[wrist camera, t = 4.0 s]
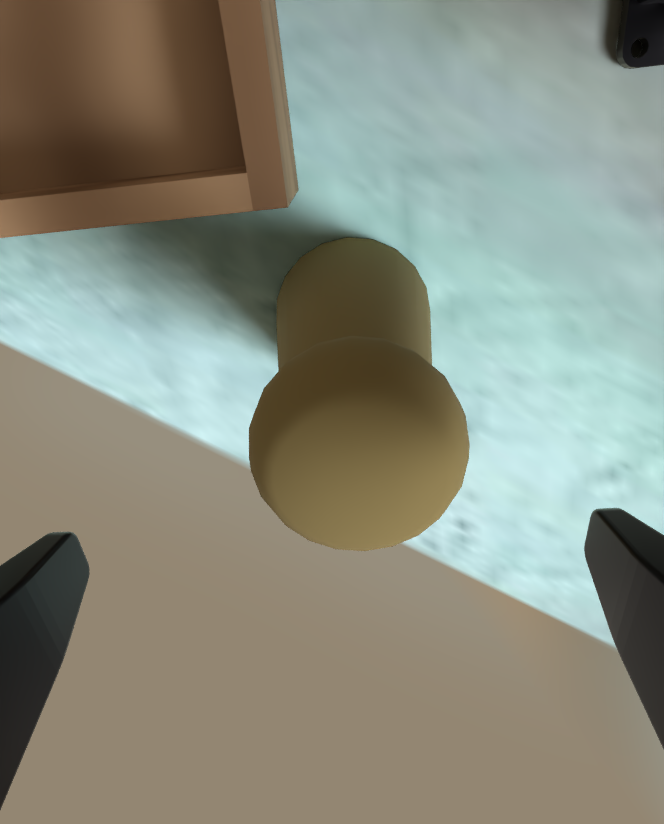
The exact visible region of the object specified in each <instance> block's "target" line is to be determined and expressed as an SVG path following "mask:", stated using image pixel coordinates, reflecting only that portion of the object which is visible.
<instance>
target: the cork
mask: <svg viewBox="0 0 664 824" xmlns="http://www.w3.org/2000/svg"><path fill="white" fill-rule="evenodd" d="M276 325H277V346H278V367H279V372H278V373H277V374H276V375H275V376H274V377H273V379H272V380H271V381H270V382H269V383H268V384H267V385H266V387H265V388H264V390H263V392H262V395H261V397H260V400H259V402H258V405H257V408H256V410H255V413H254V415H253V418H252V421H251V424H250V427H249V460H250V467H251V472H252V474H253V477H254V480H255V482H256V485H257V487H258V490H259V492H260V495H261V497H262V498H263V499H264V501H265V502H266V503H267V504H268V505H269V506H270V508H271V509H272V510H273V511H274V512H275V513H276V515H277V516H278V517H279V518H280V519H281V520H282V522H283V523H284V524H285V525H286V526H287V527H289V528H290V529H292V530H293V531H295V532H297V533H298V534H300V535H301V536H303V537H304V538H306V539H307V540H309V541H312V542H315V543H319V544H321V545H325V546H328V547H331V548H334V549H342V550H357V551H368V550H374V549H380V548H386V547H392V546H395V545H397V544H399V543H402V542H404V541H406V540H409V539H411V538H413V537H416V536H418V535H419V534H421V533H422V532H423V531H424V530H426V529H427V528H428V527H429V526H431V525H432V524H433V523H434V522H436V521H437V520H438V519H439V518H440V517H441V516H442V514H443V513H444V512H445V510H446V509H447V508H448V506H449V505H450V503H451V502H452V500H453V499H454V497H455V496H456V494H457V493H458V491H459V490H460V488H461V487H462V483H463V479H464V475H465V471H466V467H467V463H468V459H469V438H468V430H467V423H466V416H465V413H464V411H463V409H462V406H461V404H460V402H459V400H458V399H457V397H456V395H455V393H454V392H453V390H452V388H451V386H450V385H449V383H448V381H447V379H446V377H445V376H444V375H443V374H441V373H440V372H439V371H438V370H437V369H436V368H434V367H433V366H432V353H431V323H430V307H429V301H428V295H427V288H426V286H425V284H424V282H423V280H422V279H421V277H420V275H419V273H418V271H417V269H416V267H415V266H414V265H413V264H412V263H411V262H410V261H409V260H407V259H406V258H405V257H404V256H403V255H402V254H401V253H400V252H399V251H398V250H396V249H394V248H392V247H389V246H387V245H385V244H383V243H380V242H378V241H376V240H373V239H362V238H349V237H347V238H343V239H339V240H334V241H330V242H326V243H322V244H321V245H319V246H318V247H316V248H314V249H313V250H311V251H310V252H308V253H307V254H305V255H303V256H302V257H300V259H299V260H298V261H297V262H296V264H295V265H294V266H293V267H292V269H291V270H290V271H289V272H288V274H287V275H286V276H285V278H284V281H283V284H282V286H281V289H280V292H279V295H278V297H277V317H276Z"/></svg>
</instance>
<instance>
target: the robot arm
mask: <svg viewBox="0 0 664 824" xmlns="http://www.w3.org/2000/svg"><path fill="white" fill-rule="evenodd" d="M636 39H637V40H640V42H641V43H642V50H641V53H640V54H639V55H638V57H637V58H634V57H633V56H632V54H631V47H632V44H633V43H634V42H635V41H636ZM617 60H618V62H619V64H620V65H621V66H622V67H624V68H629V69H632V68H641V67H649V66H658V65H664V0H623V7H622V14H621V22H620V29H619V37H618V44H617ZM584 551H585V557H586V561H587V564H588V567H589V570H590V573H591V576H592V579H593V582H594V585H595V588H596V591H597V593H598V596H599V599H600V602H601V605H602V608H603V611H604V614H605V617H606V620H607V623H608V626H609V629H610V632H611V634H612V637H613V640H614V643H615V645H616V647H617V650H618V652H619V654H620V657H621V659H622V661H623V663H624V665H625V667H626V669H627V671H628V674H629V676H630V678H631V680H632V682H633V684H634V687H635V689H636V691H637V693H638V695H639V697H640V700H641V702H642V704H643V706H644V708H645V710H646V712H647V715H648V717H649V719H650V721H651V723H652V725H653V727H654V729H655V732H656V734H657V736H658V738H659V740H660V743H661V744H662V747H663V749H664V535H663V534H661V533H659V532H658V531H656V530H654V529H653V528H651V527H650V526H648V525H646V524H645V523H643V522H642V521H640V520H638V519H637V518H635V517H634V516H632V515H630V514H629V513H627V512H626V511H624V510H622V509H619V508H603V509H596V510H594V511H593V512H592V514H591V517H590V522H589V526H588V531H587V536H586V541H585V547H584ZM88 578H89V565H88V562H87V559H86V557H85V555H84V552H83V550H82V547H81V545H80V542H79V540H78V538H77V536H76V535H75V534H74V533H72V532H53V533H49V534H47V535H45V536H44V537H42V538H41V539H39V540H38V541H36V542H35V543H33V544H32V545H31V546H29V547H27V548H26V549H25V550H23V551H21V552H20V553H18V554H17V555H16V556H14V557H12V558H11V559H9V560H8V561H7V562H5V563H4V564H2V565H1V566H0V810H1V807H2V805H3V802H4V800H5V798H6V795H7V793H8V791H9V788H10V786H11V784H12V781H13V779H14V776H15V774H16V772H17V769H18V767H19V765H20V762H21V760H22V757H23V755H24V753H25V750H26V748H27V746H28V743H29V741H30V738H31V736H32V734H33V731H34V729H35V727H36V724H37V722H38V719H39V717H40V715H41V712H42V710H43V708H44V705H45V703H46V700H47V698H48V696H49V693H50V691H51V689H52V686H53V684H54V681H55V679H56V677H57V674H58V672H59V669H60V667H61V664H62V662H63V659H64V656H65V653H66V650H67V647H68V644H69V641H70V638H71V634H72V631H73V628H74V625H75V621H76V618H77V615H78V612H79V608H80V605H81V602H82V599H83V595H84V592H85V589H86V585H87V582H88Z"/></svg>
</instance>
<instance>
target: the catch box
mask: <svg viewBox="0 0 664 824" xmlns="http://www.w3.org/2000/svg"><path fill="white" fill-rule="evenodd" d="M297 191H298V182H297V174H296V166H295V157H294V149H293V141H292V133H291V125H290V117H289V109H288V101H287V93H286V85H285V77H284V69H283V61H282V52H281V44H280V36H279V28H278V20H277V12H276V4H275V0H0V238H4V237H13V236H22V235H32V234H41V233H51V232H60V231H70V230H79V229H88V228H98V227H107V226H117V225H126V224H135V223H145V222H154V221H164V220H173V219H183V218H192V217H201V216H211V215H220V214H230V213H239V212H249V211H258V210H267V209H277V208H286V207H288V206H289V205H290V203H291V201H292V200H293V198H294V196H295V195H296V193H297Z"/></svg>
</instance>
